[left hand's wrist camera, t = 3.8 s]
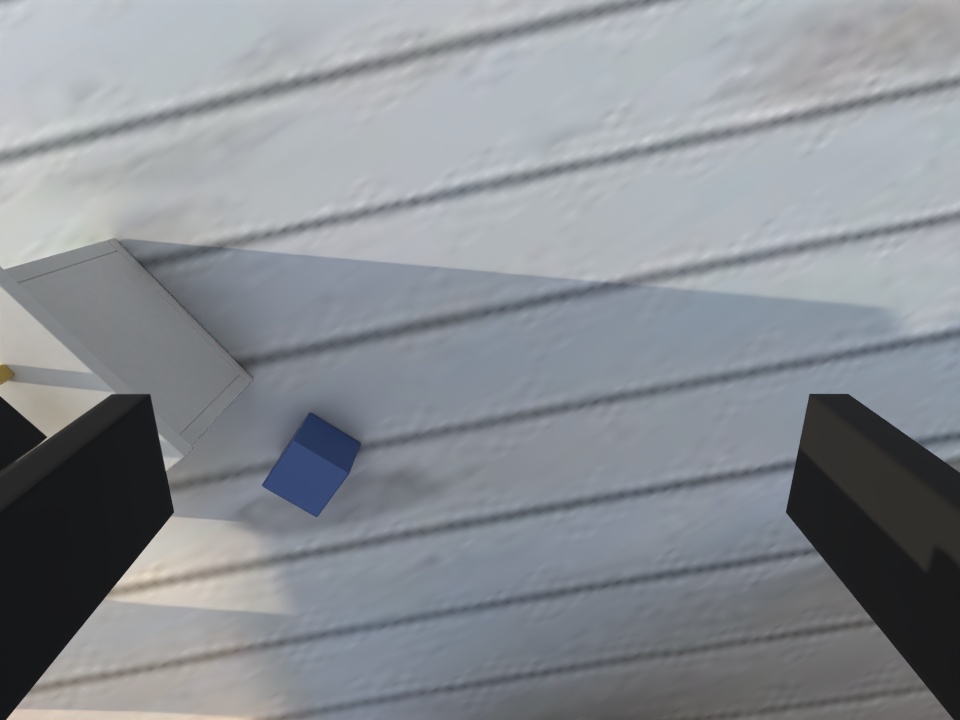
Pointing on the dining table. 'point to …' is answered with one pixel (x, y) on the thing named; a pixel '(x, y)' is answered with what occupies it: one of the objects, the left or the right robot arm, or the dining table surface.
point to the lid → (57, 371)
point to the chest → (137, 332)
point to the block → (313, 465)
